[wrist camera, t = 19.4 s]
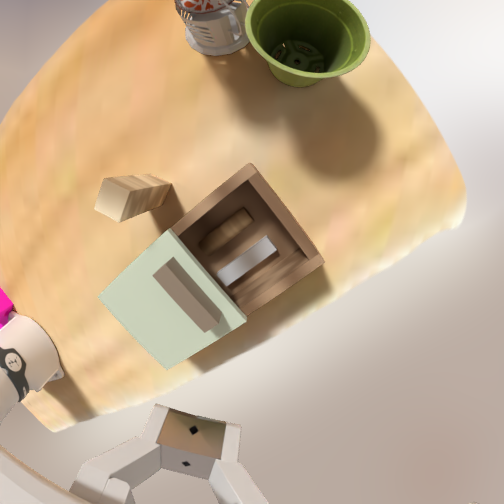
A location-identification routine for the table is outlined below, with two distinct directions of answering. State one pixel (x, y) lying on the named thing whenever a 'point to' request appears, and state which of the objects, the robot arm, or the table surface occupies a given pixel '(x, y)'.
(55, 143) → the table surface
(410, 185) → the table surface
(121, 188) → the wooden block
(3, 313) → the toy block
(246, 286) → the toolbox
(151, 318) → the lid
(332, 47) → the plant pot
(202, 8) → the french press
